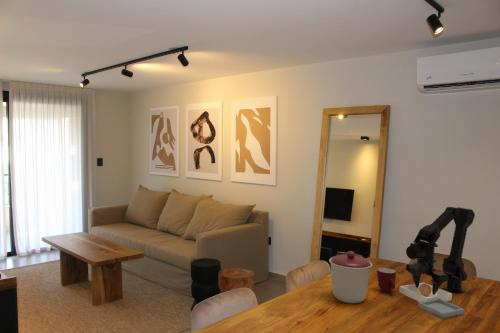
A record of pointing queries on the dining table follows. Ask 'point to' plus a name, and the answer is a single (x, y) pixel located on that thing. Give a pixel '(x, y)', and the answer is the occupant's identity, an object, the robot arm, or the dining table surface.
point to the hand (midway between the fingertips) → (425, 291)
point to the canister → (350, 277)
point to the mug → (386, 279)
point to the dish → (416, 295)
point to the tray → (441, 308)
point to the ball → (425, 289)
